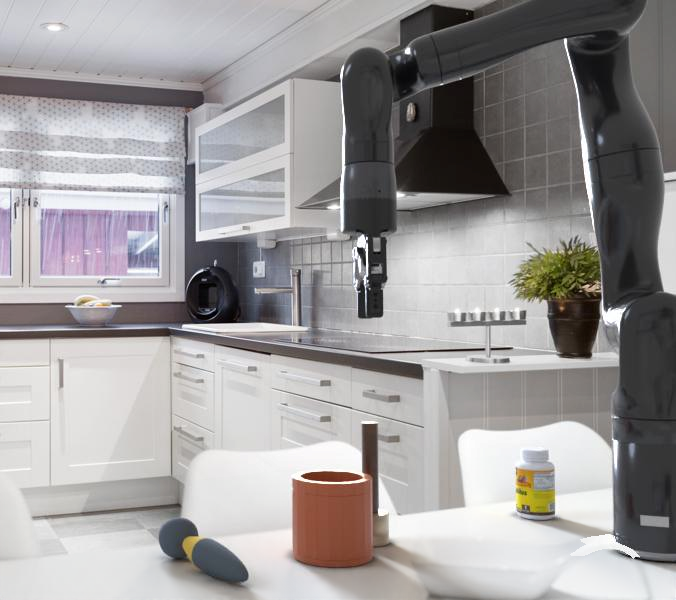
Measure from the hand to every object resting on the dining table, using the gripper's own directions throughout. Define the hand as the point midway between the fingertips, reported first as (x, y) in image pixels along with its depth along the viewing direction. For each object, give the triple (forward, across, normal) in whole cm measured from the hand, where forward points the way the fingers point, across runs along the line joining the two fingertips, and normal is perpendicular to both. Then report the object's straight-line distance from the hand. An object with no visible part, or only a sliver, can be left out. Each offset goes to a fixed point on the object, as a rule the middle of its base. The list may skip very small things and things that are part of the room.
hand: (369, 318), depth 112 cm
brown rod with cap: (+30, 0, 0) cm, 30 cm away
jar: (+30, -7, +6) cm, 31 cm away
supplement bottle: (+30, +15, -27) cm, 43 cm away
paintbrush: (+30, -12, +22) cm, 39 cm away
